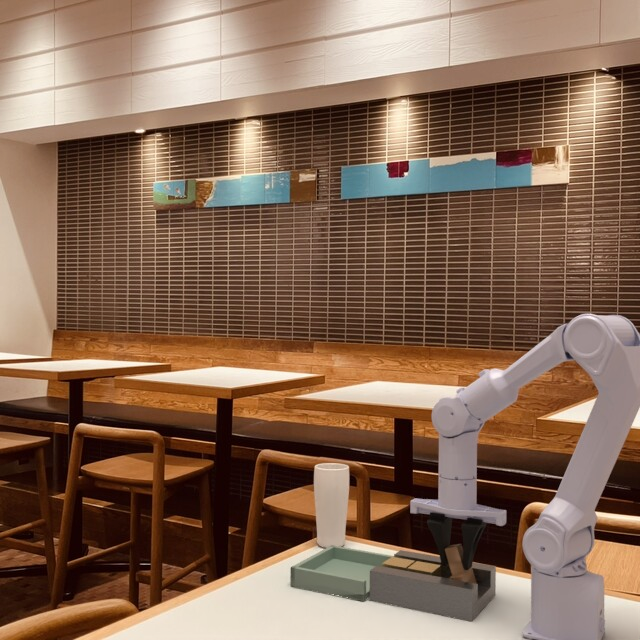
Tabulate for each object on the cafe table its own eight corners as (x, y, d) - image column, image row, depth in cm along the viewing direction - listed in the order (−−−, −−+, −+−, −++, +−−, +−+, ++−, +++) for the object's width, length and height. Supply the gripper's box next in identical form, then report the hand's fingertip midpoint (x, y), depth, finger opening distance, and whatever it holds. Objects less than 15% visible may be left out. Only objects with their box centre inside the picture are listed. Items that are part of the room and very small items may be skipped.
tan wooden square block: (415, 576, 118) (415, 560, 118) (405, 584, 114) (405, 567, 114) (391, 572, 120) (392, 556, 120) (381, 579, 116) (381, 563, 116)
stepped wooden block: (476, 583, 113) (464, 540, 114) (466, 593, 109) (453, 549, 110) (464, 585, 114) (452, 543, 115) (453, 595, 110) (441, 551, 111)
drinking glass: (345, 551, 137) (346, 470, 137) (309, 549, 138) (310, 468, 139) (351, 541, 144) (352, 463, 144) (317, 538, 145) (318, 462, 145)
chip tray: (399, 574, 124) (400, 557, 124) (363, 601, 112) (363, 581, 112) (331, 562, 131) (331, 545, 131) (290, 586, 119) (290, 567, 119)
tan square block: (440, 581, 116) (441, 565, 116) (431, 589, 112) (431, 572, 112) (416, 576, 118) (417, 561, 118) (407, 584, 114) (407, 568, 114)
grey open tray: (495, 595, 116) (495, 566, 116) (471, 621, 105) (472, 589, 105) (400, 577, 123) (400, 550, 123) (369, 600, 113) (369, 570, 113)
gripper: (512, 477, 112) (511, 566, 112) (422, 467, 120) (421, 551, 119) (499, 485, 106) (498, 580, 106) (405, 474, 113) (404, 563, 113)
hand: (456, 566), depth 112 cm, fingers closed on stepped wooden block, 3 cm apart
